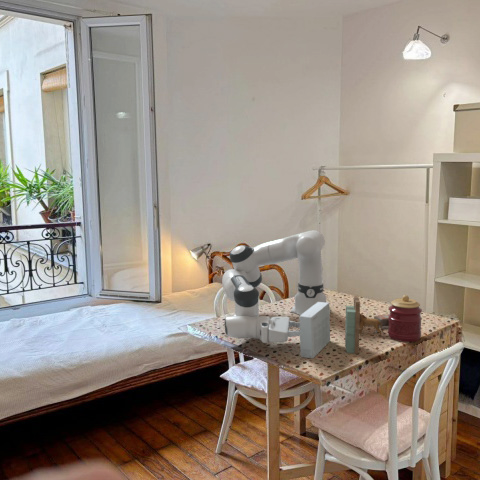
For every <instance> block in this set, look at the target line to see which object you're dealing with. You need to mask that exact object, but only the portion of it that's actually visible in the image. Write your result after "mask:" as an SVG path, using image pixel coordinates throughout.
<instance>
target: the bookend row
mask: <svg viewBox="0 0 480 480" xmlns="http://www.w3.org/2000/svg"><path fill="white" fill-rule="evenodd" d="M360 314H361V301H360V298H359V296H358V295H353V305H345V330H344V332H345V335H344V336H345V338H344V340H345V341H344V343H345V344H344V346H345V351H346V354H355V355H356V354H360V334H359V330H360Z"/></svg>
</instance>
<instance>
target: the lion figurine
mask: <svg viewBox="0 0 480 480" xmlns="http://www.w3.org/2000/svg"><path fill="white" fill-rule="evenodd" d="M379 324H380V327H381V329H380V328H379ZM364 327H366V328H372V327H373V328H374V329H375V331H373V334H377V333H378V334H377V335H378V337H382V334H383V335H387V333H386V332H385V331H384V330H383V329H382V325H381V323H380V321H379V320H377V319H374V318H368V317H366V316H365V315H364V314H362V313H360V328H359V335H362V334H363V332H364V331H363V329H364Z"/></svg>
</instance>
